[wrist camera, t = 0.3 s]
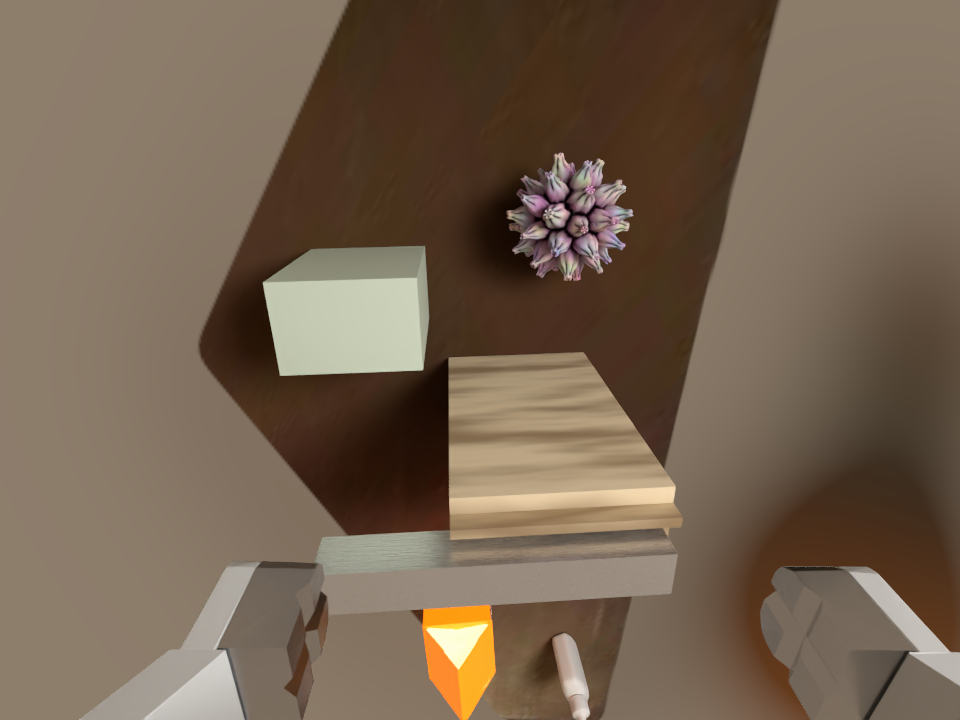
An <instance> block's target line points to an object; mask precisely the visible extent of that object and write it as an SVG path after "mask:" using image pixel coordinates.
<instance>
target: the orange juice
mask: <svg viewBox="0 0 960 720" xmlns="http://www.w3.org/2000/svg"><path fill="white" fill-rule="evenodd" d="M490 606H491V605H490ZM491 615H492V613H491ZM422 626H423V633H424V641H425V648H426V655H427V663H428V670H429V677H430V680H432V681H433V683H434V684H435V686H436V687H437V688H438V690H439V691H440V692H441V694H442V695H443V697H444V698H445V699H446V701H447V702H448V703H449V705H450V706H451V707H452V709H453V710H454V712H455V713H456V714H457V716H458V717H459V718H460V720H467V719H468V718H469V716H470V714H471V713H472V711H473V709H474V707H475V706H476V704H477V702H478V701H479V699H480V697H481V696H482V694H483V692H484V691H485V689H486V687H487V686H488V684H489V682H490V680H491V679H492V677H493V675H494V674H495V660H494V644H493V628H492V619H490V608H489V605H484V606H468V607H452V608H436V609H424V614H423V625H422Z"/></svg>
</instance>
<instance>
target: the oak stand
mask: <svg viewBox="0 0 960 720" xmlns="http://www.w3.org/2000/svg"><path fill="white" fill-rule="evenodd" d="M675 488H676V486H675V485H674V483H673V482H672V480H671V479H670V478H669V476H668V475H667V473H666V472H665V470H664V469H663V467H662V466H661V464H660V463H659V461H658V460H657V459H656V457H655V456H654V454H653V453H652V451H651V450H650V448H649V447H648V445H647V444H646V443H645V441H644V440H643V438H642V437H641V435H640V434H639V432H638V431H637V429H636V428H635V427H634V425H633V424H632V422H631V421H630V419H629V418H628V416H627V415H626V413H625V412H624V411H623V409H622V408H621V406H620V405H619V403H618V402H617V400H616V399H615V397H614V396H613V395H612V393H611V392H610V390H609V389H608V387H607V386H606V384H605V383H604V381H603V380H602V379H601V377H600V376H599V374H598V373H597V371H596V370H595V368H594V367H593V365H592V364H591V363H590V361H589V360H588V358H587V357H586V355H585V354H584V352H580V353H555V354H529V355H504V356H478V357H452V358H449V506H450V540H461V539H478V538H496V537H514V536H531V535H549V534H567V533H584V532H602V531H620V530H637V529H655V528H663V529H664V531H665V533H666V535H667V536H668V532H669V528H673V527H681V526H682V520H683V517H682V516H681V514H680V512H679V511H678V509H677V508H676V506H675V505H674V503H673V501H674V494H675Z"/></svg>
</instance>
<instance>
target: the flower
mask: <svg viewBox="0 0 960 720" xmlns="http://www.w3.org/2000/svg"><path fill="white" fill-rule="evenodd" d="M591 165H592V161H590V162H589V161H588V160H587V161H585V162H584V164H583V166H582V168H580V169H579V170H578V171H577V172H576V171H575V167H574V164H573V163H571V164H567V162H566V161H565V159H564V155H563V153H559V154H557V153H556V154H555V155H553V167H552V170H551V171H550V172H544V170H543V169H542V168H539V170H538V173H539V176H540V182H538V181H536V180H532V179H529V178H528V177H527V176H525V175H524V178H520V179H521V181H522V182H523V183H524V184H525V186H526V189H527V191H524V190H521V189H519V191H517V194H516V195H517V196H518V197H520V199H521V201H522V203H523V205H524V206H520V207H519V208H517V209H515V210H508V211H507V216H508V217H507V218H508V219H512V220H514V221H515V223H511V224H509V228H510V231H518V232H520V233H522V234H521V237H520V239H521V240H520V241H519V243H518V245H517V246H515V247H514V248H513V249H512V251H513V252H515V254H517V253H519V252H525V255H526V256H528V257H529V256H531V255H533V254H534V257H533V259H532V261H531V263H530V265H531V267H533V268H534V269H535V268H536V267H537V266H538V271H537V274H536V276H539V277H541V278H543V276H544V275H545V273H546V272H548V271H550V270H551V269H552V270H554V271H558V269H560V270H561V272H562V273H563V279H564V280H566V281H568V280H571V279H572V277H573V280H574V281H575V280H577V281H578V280H580V273H581V271H582V269H583V266H584V263H585V264H586V265H588V266H589V267H591V268H593V269H595V271H596V272H597V273H598V274H599V273H600V274H601V273H602V271H603V269H602V267H601V265H600V260H602V261H604V262H605V263H606V264H608V262H611V261H612V260H611V258H610V257H609V256H608V251H607V248H618V249H620V250H623V248H624V247H625V244H624V243H622V242H621V241H619V239H618V238H617V237H616V236H615V234H616V233H618V232H620V231H628V229H629V223H628V222H626V221H623V220H624V219H625V218H627V217H632V216H633V215H632V213H633V211H632V209H623V208H621V207H619V206H616V205H614V204H615V202H616V200H617V199H618V197H619V196H620V195H621V194H622V193H624V192H625V191H626V190H625V189H626V186H623V185H621V184H622V180H616V181H615V182H613V183H610V184H601V180H602V177H603V174H601V170H602V167H603V165H604V161H603V160H602V161H601V160H600V159H598V158H597V159H596V161H595V162H594V164H593V165H592V166H591ZM600 184H601V185H600Z"/></svg>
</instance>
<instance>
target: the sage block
mask: <svg viewBox="0 0 960 720" xmlns="http://www.w3.org/2000/svg"><path fill="white" fill-rule="evenodd" d="M263 287H264V292H265V298H266V303H267V308H268V314H269V319H270V324H271V330H272V335H273V340H274V346H275V351H276V356H277V362H278V367H279V372H280V376H289V375H314V374H339V373H363V372H388V371H413V370H423V366H424V357H425V348H426V340H427V331H428V323H429V307H428V291H427V274H426V257H425V246H406V247H371V248H335V249H311V250H309V251H308V252H306V253H305V254H303V255H302V256H301V257H299V258H298V259H296V260H295V261H293V262H292V263H290V264H289V265H287V266H286V267H285V268H283V269H282V270H280V271H279V272H277V273H276V274H274V275H273V276H271V277H270V278H269V279H267V280H266V281H264V282H263Z"/></svg>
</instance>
